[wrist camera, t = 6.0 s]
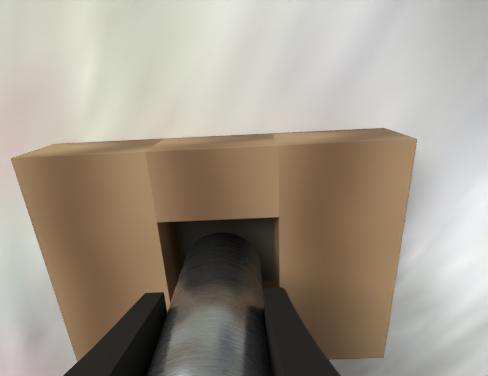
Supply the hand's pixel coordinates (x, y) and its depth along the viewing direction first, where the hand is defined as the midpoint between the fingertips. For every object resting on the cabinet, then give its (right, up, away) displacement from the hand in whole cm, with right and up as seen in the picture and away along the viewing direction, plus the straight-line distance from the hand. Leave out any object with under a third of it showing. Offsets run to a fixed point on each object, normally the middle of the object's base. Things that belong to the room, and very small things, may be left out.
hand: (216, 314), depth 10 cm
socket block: (0, +2, +4) cm, 5 cm away
